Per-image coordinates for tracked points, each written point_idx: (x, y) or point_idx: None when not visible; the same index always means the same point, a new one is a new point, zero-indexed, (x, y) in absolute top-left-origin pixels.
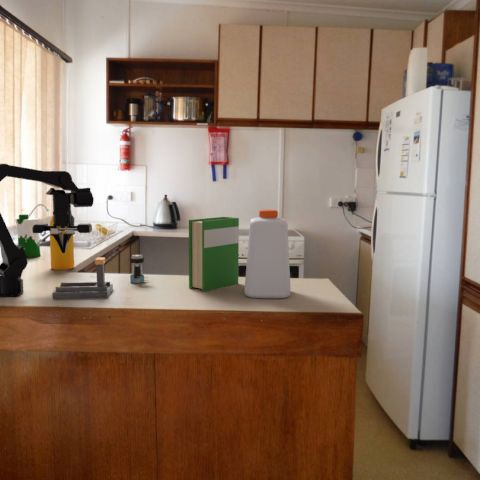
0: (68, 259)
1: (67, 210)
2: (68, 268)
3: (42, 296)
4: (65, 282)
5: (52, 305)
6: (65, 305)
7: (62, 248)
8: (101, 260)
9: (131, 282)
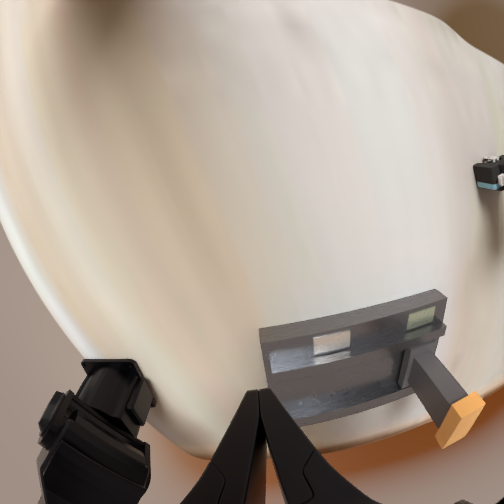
0: None
1: None
2: None
3: (229, 399)
4: (290, 371)
5: None
6: (325, 441)
7: (265, 452)
8: (459, 436)
9: (478, 186)
